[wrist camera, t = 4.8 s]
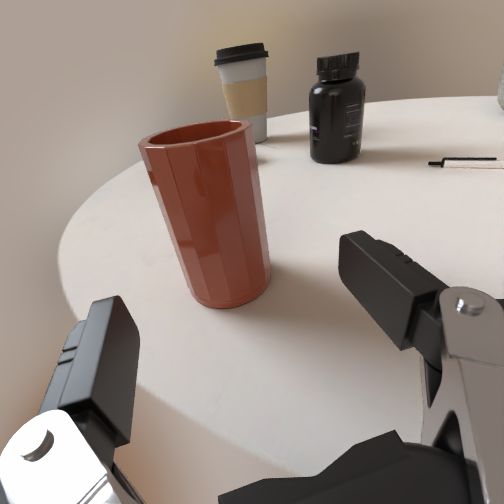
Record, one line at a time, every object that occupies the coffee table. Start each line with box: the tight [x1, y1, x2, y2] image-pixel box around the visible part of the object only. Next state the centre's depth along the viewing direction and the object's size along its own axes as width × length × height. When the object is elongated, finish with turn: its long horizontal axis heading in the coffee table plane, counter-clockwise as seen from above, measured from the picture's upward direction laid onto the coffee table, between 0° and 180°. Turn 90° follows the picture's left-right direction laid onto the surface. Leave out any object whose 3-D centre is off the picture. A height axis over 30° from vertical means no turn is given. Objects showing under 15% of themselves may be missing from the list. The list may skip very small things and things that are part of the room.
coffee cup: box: [214, 43, 269, 143], centre depth 51 cm, size 9×9×15 cm
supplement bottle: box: [309, 51, 366, 164], centre depth 36 cm, size 7×7×12 cm
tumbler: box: [138, 119, 271, 308], centre depth 17 cm, size 6×6×10 cm
